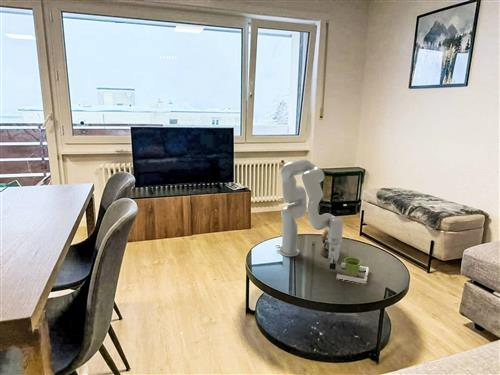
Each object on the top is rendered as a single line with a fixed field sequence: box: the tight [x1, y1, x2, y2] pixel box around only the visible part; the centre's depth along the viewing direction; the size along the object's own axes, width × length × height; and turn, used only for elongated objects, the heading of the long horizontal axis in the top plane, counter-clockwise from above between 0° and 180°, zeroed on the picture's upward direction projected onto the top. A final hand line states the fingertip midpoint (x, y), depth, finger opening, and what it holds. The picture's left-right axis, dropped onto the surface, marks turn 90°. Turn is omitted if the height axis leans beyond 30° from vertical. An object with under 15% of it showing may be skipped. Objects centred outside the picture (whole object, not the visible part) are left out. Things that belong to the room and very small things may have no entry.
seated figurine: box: [320, 227, 330, 259], centre depth 214 cm, size 18×12×17 cm, turn 168°
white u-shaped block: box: [336, 261, 370, 284], centre depth 189 cm, size 15×15×3 cm
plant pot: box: [343, 256, 363, 278], centre depth 189 cm, size 9×9×9 cm
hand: (332, 268), depth 194 cm, fingers closed
